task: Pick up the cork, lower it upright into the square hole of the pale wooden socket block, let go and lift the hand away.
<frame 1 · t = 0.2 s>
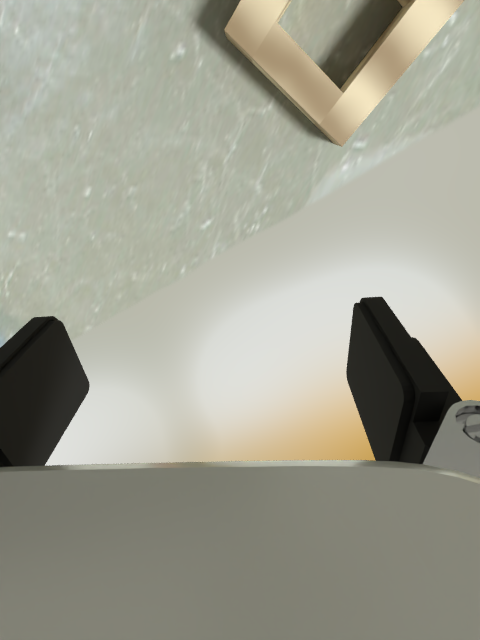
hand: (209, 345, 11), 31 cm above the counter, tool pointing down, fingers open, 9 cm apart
socket block: (336, 18, 29), on the counter
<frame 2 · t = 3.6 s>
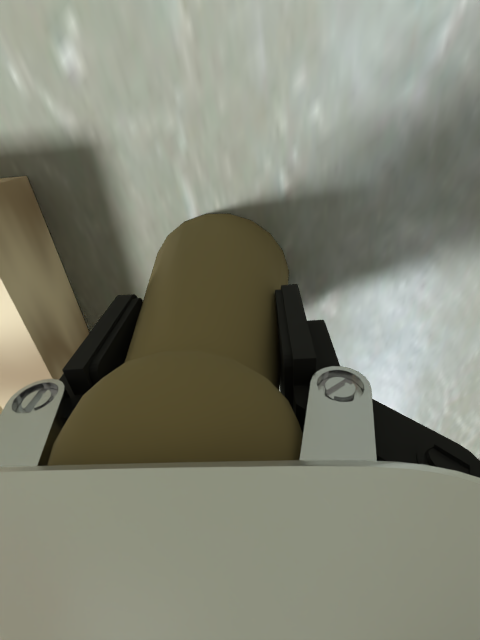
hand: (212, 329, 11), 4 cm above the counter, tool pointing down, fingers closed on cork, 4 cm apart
cork: (222, 279, 15), on the counter, touching gripper
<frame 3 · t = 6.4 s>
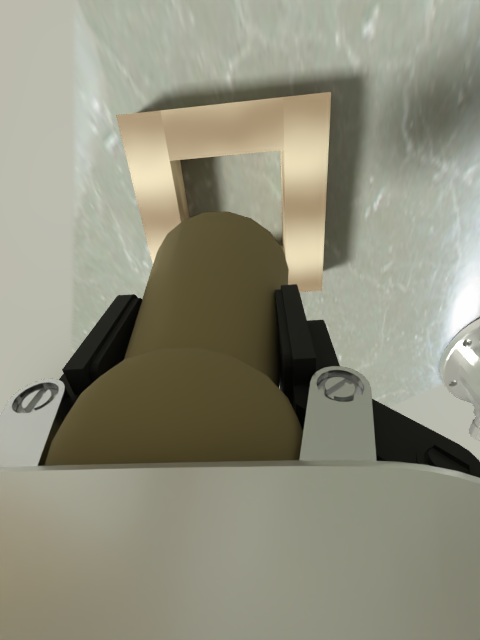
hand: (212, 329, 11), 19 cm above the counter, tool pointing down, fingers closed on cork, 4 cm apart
cork: (221, 278, 15), point 15 cm above the counter, touching gripper
socket block: (234, 203, 28), on the counter
when the fingers open (5 cm above the counter, at t = 9.5 s): cork stays where it is, resting in socket block.
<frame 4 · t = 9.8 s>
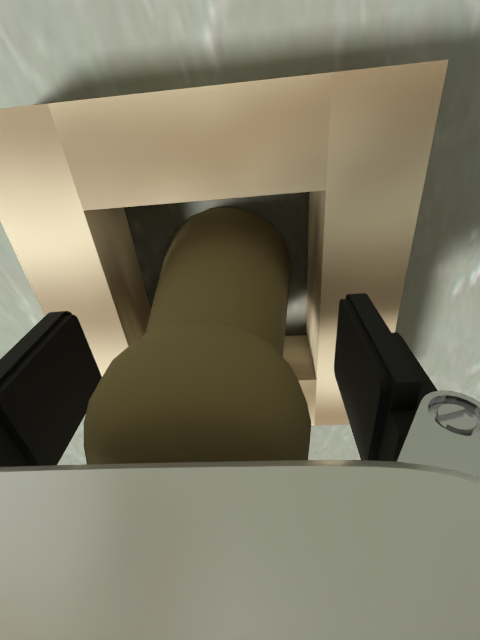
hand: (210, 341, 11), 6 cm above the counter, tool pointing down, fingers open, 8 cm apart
cork: (227, 269, 16), resting in socket block
socket block: (223, 270, 16), on the counter
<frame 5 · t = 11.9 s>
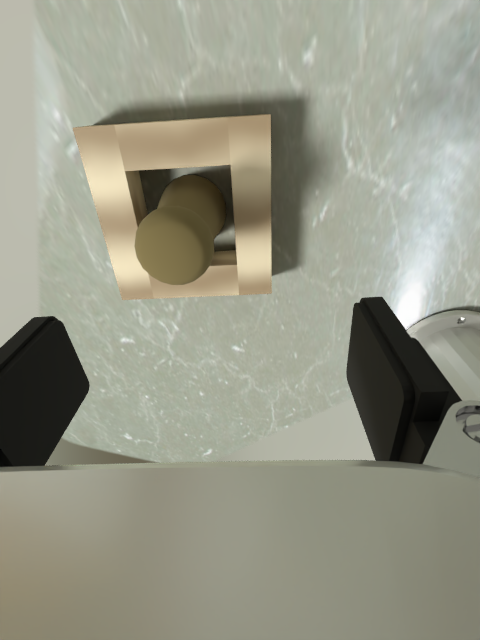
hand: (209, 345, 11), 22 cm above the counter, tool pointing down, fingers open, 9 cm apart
cork: (193, 210, 30), resting in socket block
socket block: (191, 210, 30), on the counter
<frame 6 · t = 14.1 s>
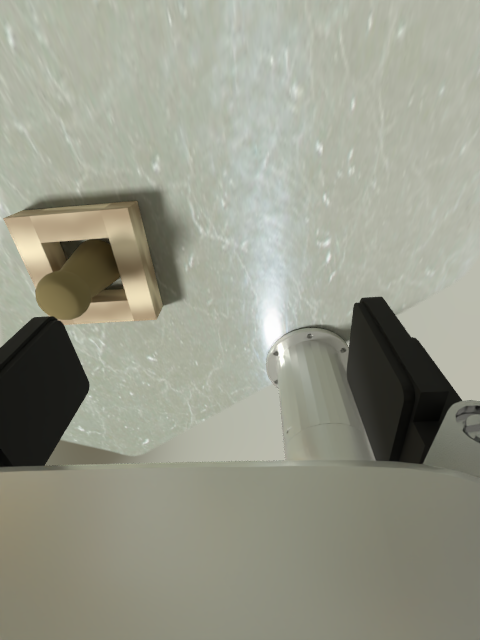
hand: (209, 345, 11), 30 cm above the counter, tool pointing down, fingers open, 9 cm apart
cork: (100, 261, 42), resting in socket block
socket block: (98, 261, 42), on the counter
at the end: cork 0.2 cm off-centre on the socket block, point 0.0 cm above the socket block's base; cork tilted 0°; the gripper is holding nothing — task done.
